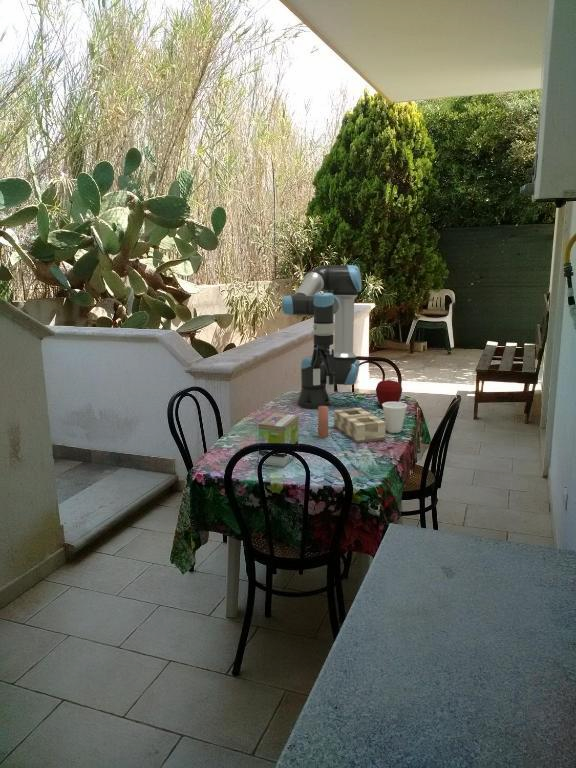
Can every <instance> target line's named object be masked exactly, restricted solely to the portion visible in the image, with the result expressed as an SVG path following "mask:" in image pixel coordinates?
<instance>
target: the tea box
mask: <svg viewBox="0 0 576 768" xmlns="http://www.w3.org/2000/svg"><path fill="white" fill-rule="evenodd" d="M259 443H293V444H298V445H299V415H298V414H297V415H296V414H287V413H278V412H273V413H272V414H270V415H269V416H268V417H266V418H265V419H263V421H261V422H259V423H258V444H259ZM267 453H269V451H259V450H258V461H259V460H260V459H261V458H262V457H263V456H264V455H265V454H267ZM293 459H294V457H293V456H290V455H287V454H275V455H272V456H270V457H269V458H268V459H267V460H266V461H265V463H264V464H263V465H264V466H266V465H267V466H275V467H282V468H283V467H285V466H287V465H288V463H290V461H291V460H293Z"/></svg>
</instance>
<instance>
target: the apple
mask: <svg viewBox="0 0 576 768" xmlns="http://www.w3.org/2000/svg"><path fill="white" fill-rule="evenodd" d="M375 393H376V398H377V400H378V404H380V406H382V404H383V403H385V402H400V400H401V397H402V394H403V387H402V384H401V383H400V382H398V381H396V380H391V379H386V380H385V379H384V380H380V381H379V382H378V383H377V385H376V388H375Z"/></svg>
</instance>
